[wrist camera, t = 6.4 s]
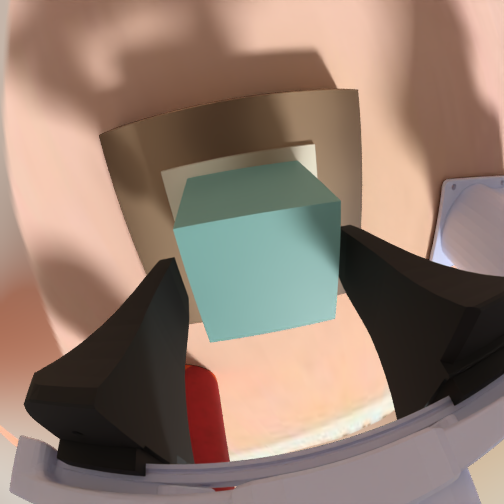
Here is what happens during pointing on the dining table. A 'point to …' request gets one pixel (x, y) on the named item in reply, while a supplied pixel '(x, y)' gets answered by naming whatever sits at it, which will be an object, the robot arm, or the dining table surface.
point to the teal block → (260, 249)
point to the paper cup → (205, 418)
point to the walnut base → (230, 158)
